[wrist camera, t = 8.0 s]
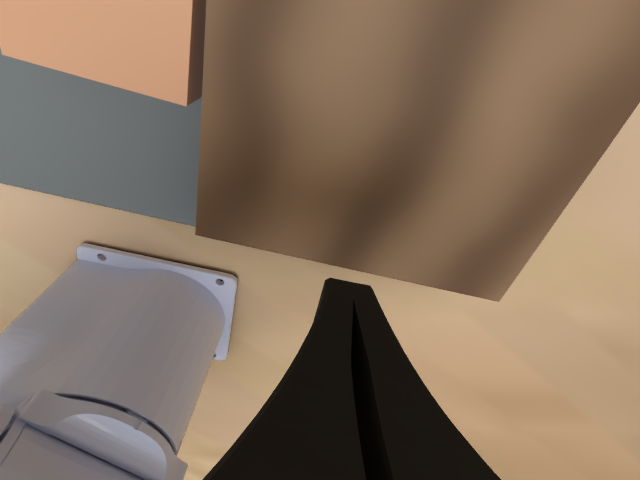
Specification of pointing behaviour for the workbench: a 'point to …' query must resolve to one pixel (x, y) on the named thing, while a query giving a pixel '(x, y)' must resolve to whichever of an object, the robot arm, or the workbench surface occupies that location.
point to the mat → (98, 142)
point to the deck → (408, 128)
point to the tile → (113, 42)
